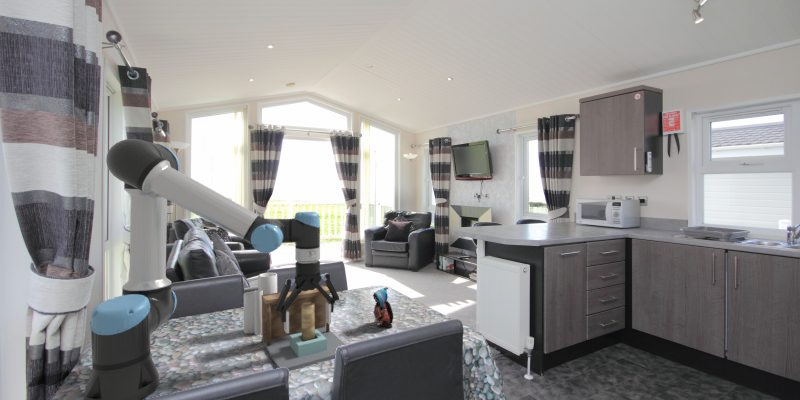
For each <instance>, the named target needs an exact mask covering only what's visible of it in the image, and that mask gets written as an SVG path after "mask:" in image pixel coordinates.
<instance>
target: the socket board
mask: <svg viewBox="0 0 800 400" xmlns="http://www.w3.org/2000/svg"><path fill="white" fill-rule="evenodd" d="M261 343H262V344H263V346H264V348H265V350H266V351H267V352H268V355H269V356H270V358H271V359H272V361H273V363H274V364H275V366H276V368H277V369H278V368H280V367H287V368H288V369H289V371H288V372H290V371H294V370H297V369H301V368H304V367H308V366H311V365H316V364H318V363H323V362H326V361H329V360H333V359H336V358H335V351H336V348H337V347H338V346H341V345H347V344H346V343H345V342H344V341H342V340H341V338H339V337H338V336H337V335H336V334H334V332H332V331H331V330H330V332H326V327H323V328H319V329H315V339H313V340H308V341H304V342H303V341H302V332H301V333H296V334H292V335H287V336H283V337H278V338H274V339H271V346H267V340H265V341H262V340H261Z"/></svg>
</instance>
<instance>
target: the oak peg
mask: <svg viewBox="0 0 800 400" xmlns="http://www.w3.org/2000/svg"><path fill="white" fill-rule="evenodd" d="M313 339H315V304H314V303H304V304H302V341H303V342H304V341H308V340H313Z"/></svg>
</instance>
